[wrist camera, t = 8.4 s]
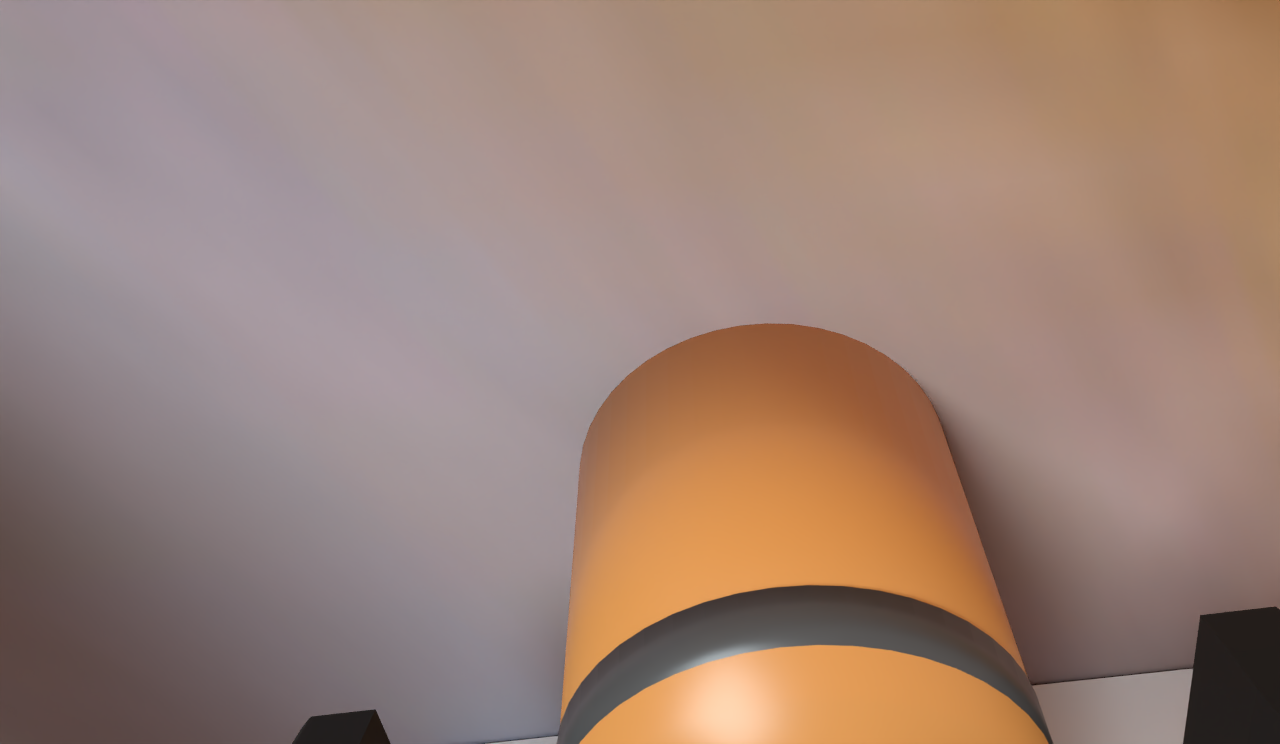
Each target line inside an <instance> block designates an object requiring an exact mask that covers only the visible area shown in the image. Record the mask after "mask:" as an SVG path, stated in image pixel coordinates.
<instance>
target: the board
mask: <svg viewBox="0 0 1280 744" xmlns="http://www.w3.org/2000/svg"><path fill="white" fill-rule="evenodd" d="M1192 674H1193V669H1184V670H1175V671H1165V672H1156V673H1146V674H1137V675H1128V676H1118V677H1109V678H1099V679H1090V680H1080V681H1071V682H1062V683H1052V684H1043V685H1033V686H1032V687H1033V689H1034V691H1035V693H1036V695H1037V698H1038V701H1039V704H1040V707H1041V710H1042V712H1043V715H1044V718H1045V721H1046V724H1047V727H1048V730H1049V733H1050V736H1051V738H1052V741H1053V744H1183V739H1184V732H1185V725H1186V717H1187V710H1188V703H1189V695H1190V688H1191V681H1192ZM557 739H558V736H553V737H544V738H534V739H525V740H515V741H506V742H497V743H487V744H557Z"/></svg>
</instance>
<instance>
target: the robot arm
mask: <svg viewBox="0 0 1280 744" xmlns="http://www.w3.org/2000/svg"><path fill="white" fill-rule="evenodd" d="M292 744H390V741H389V739H388V737H387V735H386V732H385V730H384V728H383V725H382V723H381V721H380V719H379V716H378V714H377V712H376V710H366V711H357V712H349V713H340V714H331V715H322V716H314V717H310V718H309V720H308V721H307V722H306V723H305V725H304V726H303V727H302V729H301V730H300V732H299V733H298V735H297V737H296V738H295V740H294V741H293V743H292ZM1183 744H1280V610H1279V609H1278V608H1277V607H1268V608H1260V609H1251V610H1242V611H1233V612H1225V613H1216V614H1207V615H1200V622H1199V630H1198V637H1197V644H1196V652H1195V659H1194V666H1193V674H1192V681H1191V688H1190V695H1189V703H1188V710H1187V717H1186V725H1185V732H1184V739H1183Z"/></svg>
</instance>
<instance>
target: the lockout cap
mask: <svg viewBox="0 0 1280 744" xmlns="http://www.w3.org/2000/svg"><path fill="white" fill-rule="evenodd" d="M557 744H1053V741H1052V738H1051V736H1050V733H1049V730H1048V727H1047V724H1046V721H1045V718H1044V715H1043V712H1042V710H1041V707H1040V704H1039V701H1038V698H1037V695H1036V693H1035V691H1034V689H1033V687H1032V685H1031V683H1030V681H1029V679H1028V677H1027V674H1026V671H1025V668H1024V665H1023V662H1022V659H1021V656H1020V653H1019V650H1018V647H1017V645H1016V642H1015V639H1014V636H1013V633H1012V630H1011V627H1010V624H1009V621H1008V618H1007V615H1006V613H1005V610H1004V607H1003V604H1002V601H1001V598H1000V595H999V592H998V589H997V586H996V584H995V581H994V578H993V575H992V572H991V569H990V566H989V563H988V560H987V557H986V554H985V552H984V549H983V546H982V543H981V540H980V537H979V534H978V531H977V528H976V525H975V523H974V520H973V517H972V514H971V511H970V508H969V505H968V502H967V499H966V496H965V493H964V491H963V488H962V485H961V482H960V479H959V476H958V473H957V470H956V467H955V464H954V461H953V459H952V456H951V453H950V450H949V447H948V444H947V441H946V438H945V435H944V432H943V430H942V427H941V424H940V421H939V418H938V416H937V414H936V412H935V410H934V408H933V406H932V404H931V402H930V400H929V399H928V397H927V396H926V394H925V393H924V392H923V390H922V389H921V387H920V386H919V385H918V383H917V382H916V381H915V380H914V379H913V378H912V377H911V376H910V375H909V374H908V373H907V372H906V371H905V370H904V369H903V368H902V367H900V366H899V365H898V364H896V363H895V362H894V361H892V360H891V359H890V358H889V357H887V356H886V355H884V354H883V353H881V352H879V351H877V350H875V349H874V348H872V347H870V346H868V345H867V344H865V343H862V342H860V341H857V340H855V339H852V338H850V337H847V336H845V335H842V334H839V333H835V332H831V331H827V330H824V329H820V328H815V327H808V326H801V325H794V324H755V325H743V326H736V327H731V328H726V329H721V330H716V331H712V332H709V333H706V334H703V335H699V336H696V337H693V338H690V339H688V340H685V341H683V342H681V343H679V344H677V345H674V346H672V347H670V348H668V349H666V350H664V351H662V352H661V353H659V354H657V355H656V356H654V357H652V358H651V359H649V360H647V361H646V362H645V363H643V364H642V365H641V366H639V367H638V368H637V369H636V370H634V371H633V372H632V373H630V374H629V375H628V376H627V377H626V378H625V379H624V380H623V381H622V382H621V383H620V384H619V385H618V386H617V387H616V388H615V389H614V390H613V391H612V392H611V394H610V395H609V396H608V398H607V399H606V400H605V402H604V403H603V404H602V406H601V407H600V409H599V410H598V412H597V414H596V416H595V418H594V420H593V422H592V423H591V425H590V427H589V430H588V433H587V436H586V439H585V442H584V445H583V450H582V456H581V462H580V471H579V484H578V497H577V511H576V524H575V537H574V550H573V563H572V576H571V589H570V602H569V616H568V629H567V642H566V655H565V668H564V681H563V694H562V708H561V721H560V728H559V733H558V739H557Z"/></svg>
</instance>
